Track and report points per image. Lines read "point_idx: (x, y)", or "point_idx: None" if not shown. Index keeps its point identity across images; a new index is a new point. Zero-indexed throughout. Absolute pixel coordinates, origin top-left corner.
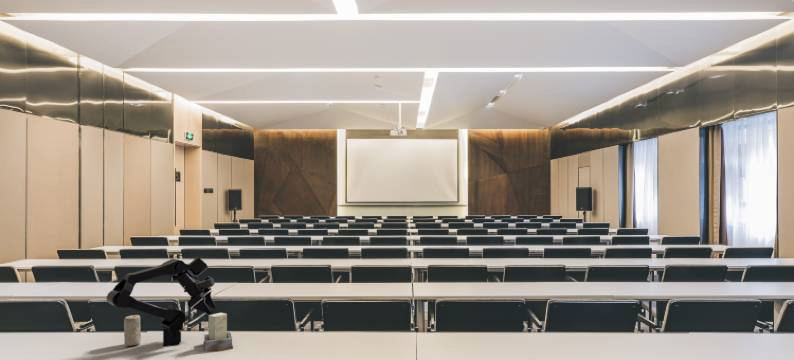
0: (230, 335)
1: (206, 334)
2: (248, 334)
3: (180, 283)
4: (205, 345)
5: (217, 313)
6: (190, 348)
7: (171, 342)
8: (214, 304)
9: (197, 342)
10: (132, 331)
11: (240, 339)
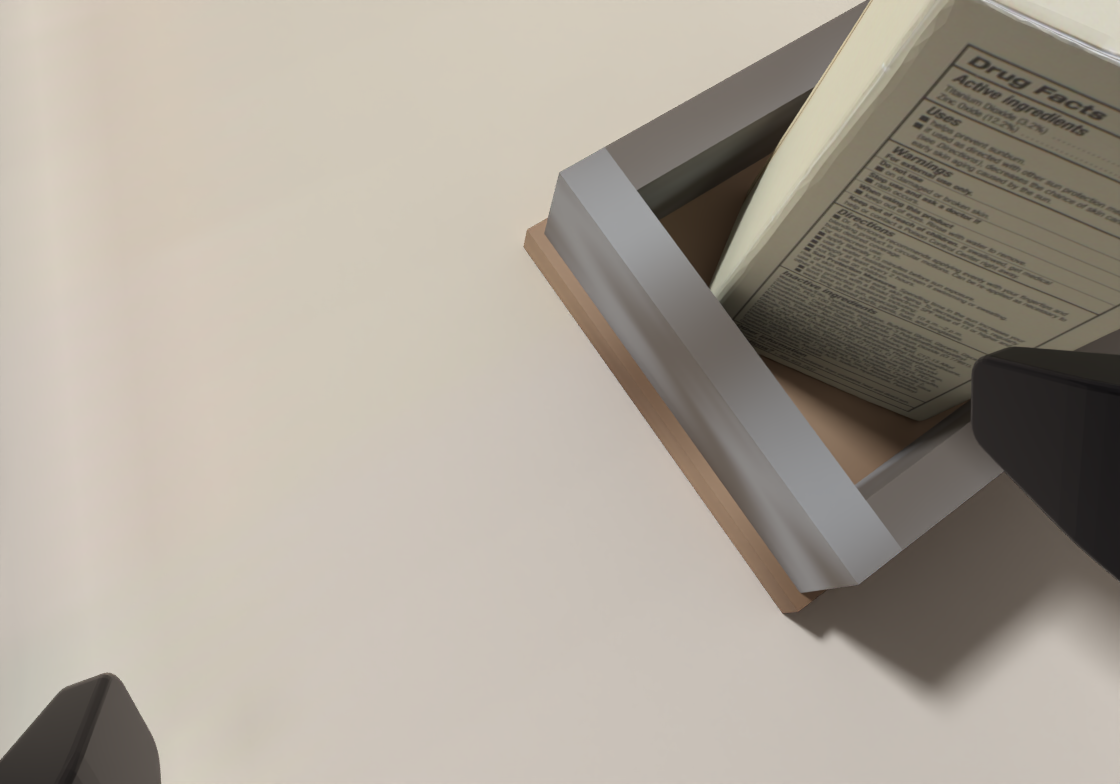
0: (765, 70)
1: (843, 538)
2: (133, 121)
3: None
4: None
5: (1084, 40)
6: (1037, 695)
7: None
8: (41, 771)
9: (740, 779)
10: None
11: (424, 135)
